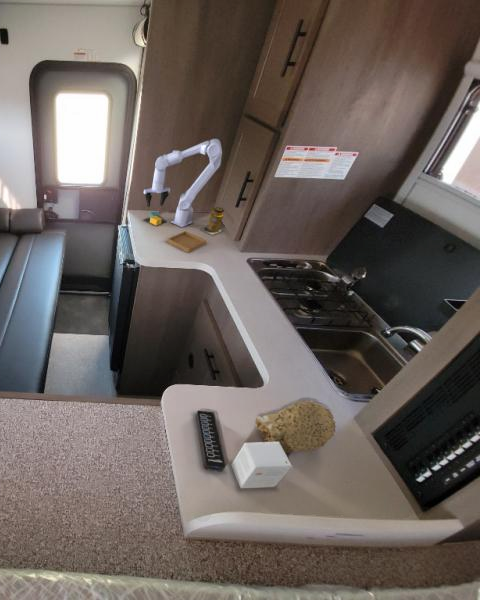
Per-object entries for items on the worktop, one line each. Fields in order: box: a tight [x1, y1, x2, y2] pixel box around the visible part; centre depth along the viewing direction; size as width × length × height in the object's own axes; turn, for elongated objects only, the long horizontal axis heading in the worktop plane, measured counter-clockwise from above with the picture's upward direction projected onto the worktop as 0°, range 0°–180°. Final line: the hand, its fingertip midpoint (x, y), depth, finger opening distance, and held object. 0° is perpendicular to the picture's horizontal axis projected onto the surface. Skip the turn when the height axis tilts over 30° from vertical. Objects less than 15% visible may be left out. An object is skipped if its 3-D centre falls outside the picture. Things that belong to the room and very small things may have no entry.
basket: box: [166, 230, 207, 253], centre depth 164 cm, size 14×13×2 cm
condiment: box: [200, 206, 225, 236], centre depth 173 cm, size 7×8×12 cm
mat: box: [143, 217, 167, 227], centre depth 185 cm, size 9×9×1 cm
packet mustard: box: [149, 216, 163, 226], centre depth 181 cm, size 4×5×3 cm
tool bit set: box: [195, 410, 226, 472], centre depth 82 cm, size 4×14×2 cm, turn 172°
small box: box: [230, 441, 293, 489], centre depth 73 cm, size 8×6×10 cm
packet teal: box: [148, 211, 161, 218], centre depth 186 cm, size 4×5×3 cm
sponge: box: [254, 400, 337, 454], centre depth 83 cm, size 13×8×20 cm
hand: (154, 205), depth 182 cm, fingers open, 7 cm apart
